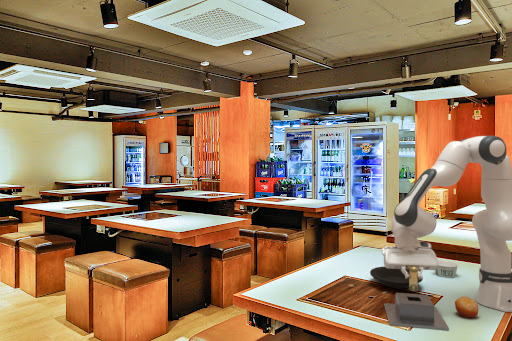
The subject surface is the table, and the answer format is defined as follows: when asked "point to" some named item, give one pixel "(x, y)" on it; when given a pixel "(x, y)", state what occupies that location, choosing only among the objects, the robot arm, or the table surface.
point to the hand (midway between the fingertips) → (414, 278)
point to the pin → (413, 278)
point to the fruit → (466, 307)
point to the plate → (391, 277)
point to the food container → (446, 269)
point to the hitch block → (414, 312)
